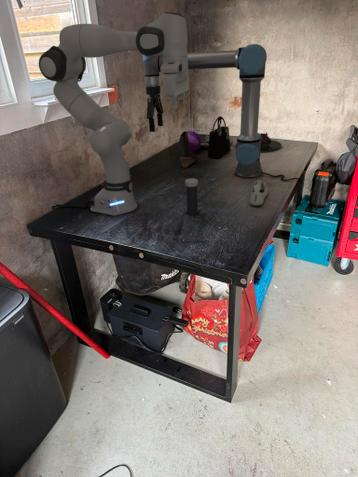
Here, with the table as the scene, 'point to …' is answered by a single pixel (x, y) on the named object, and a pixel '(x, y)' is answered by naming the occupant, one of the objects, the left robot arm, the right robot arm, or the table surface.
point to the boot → (186, 151)
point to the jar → (192, 200)
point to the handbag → (219, 140)
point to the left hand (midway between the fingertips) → (178, 106)
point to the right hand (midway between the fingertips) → (156, 128)
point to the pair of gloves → (205, 143)
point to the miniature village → (268, 144)
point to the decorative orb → (193, 141)
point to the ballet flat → (258, 193)
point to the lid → (191, 182)
